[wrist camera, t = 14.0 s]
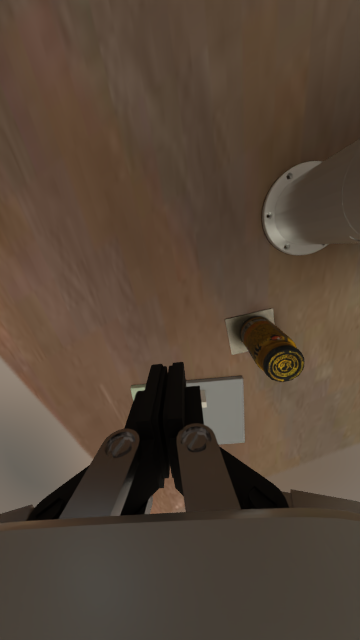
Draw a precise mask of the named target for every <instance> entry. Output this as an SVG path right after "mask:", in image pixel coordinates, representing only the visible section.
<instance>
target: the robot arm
mask: <svg viewBox="0 0 360 640" xmlns="http://www.w3.org/2000/svg"><path fill="white" fill-rule="evenodd" d="M286 176H287V177H288V179H287V177H286ZM266 215H269V217H268V218H267V217H266ZM262 224H263V229H264V232H265V235H266V237H267V238H268V240H269V242H270V243H271V244H272V245H273V246H274V247H275V248H276V249H278V250H279V251H281V252H284V253H286V254H291V255H308V254H311V253H314V252H317V251H319V250H321V249H323V248H324V247H326V246H327V245H328V244H346V243H360V139H358V140H357V141H355V142H354V143H352V144H350V145H349V146H347V147H346V148H344V149H342V150H341V151H339V152H338V153H336V154H334V155H333V156H331V157H330V158H328V159H326V160H325V161H308V162H304V163H301V164H298V165H296V166H294V167H292V168H291V169H289V170H288V171H286V172H285V173H284V174H283V175H282V176H280V177H279V178H278V179H277V181H276V182H275V183H274V184H273V185H272V187H271V189H270V190H269V192H268V194H267V196H266V199H265V201H264V205H263V210H262ZM284 246H286V248H285V249H284ZM170 468H171V473H172V478H174V483H175V488H176V489H177V490H178V491H179V492H180V493H181V494H182V495H183V496H184V502H185V509H186V512H180V513H160V514H150V511H151V507H152V501H153V497H152V495H153V494H154V493H155V492H156V491H157V490H158V489H159V488H164V479H165V478H169V471H170ZM0 640H360V502H357V501H353V500H347V499H342V498H336V497H331V496H325V495H319V494H314V493H308V492H303V491H297V490H291V492H290V493H288V492H282V491H280V490H279V489H278V488H277V487H276V486H275V485H274V484H273V483H271V482H270V481H268V480H267V479H265V478H264V477H263V476H261V475H260V474H258V473H257V472H255V471H254V470H253V469H251V468H250V467H248V466H247V465H245V464H244V463H242V462H241V461H240V460H238V459H237V458H235V457H234V456H232V455H231V454H230V453H228V452H227V451H225V450H224V449H222V448H221V447H219V445H218V442H217V439H216V436H215V434H214V432H213V430H212V429H211V428H209V427H208V426H206V425H204V420H203V411H202V402H201V393H200V386H190V387H186V379H185V371H184V364H183V362H177V363H173V366H169V371H168V372H167V367H166V366H164V367H163V365H162V364H156V365H152V366H151V369H150V373H149V376H148V380H147V383H146V387H145V390H143V391H137V393H136V395H135V398H134V401H133V404H132V407H131V410H130V413H129V416H128V419H127V422H126V425H125V428H124V429H121V430H118V431H116V432H114V433H112V434H111V435H109V436H108V437H107V438H106V439H105V441H104V442H103V443H102V445H101V447H100V449H99V450H98V452H97V454H96V455H95V457H94V459H93V461H92V462H91V464H90V465H89V466H88V467H87V468H85V469H84V470H82V471H81V472H80V473H78V474H77V475H75V476H74V477H73V478H71V479H70V480H69V481H67V482H66V483H65V484H63V485H62V486H61V487H59V488H58V489H57V490H55V491H54V492H52V493H51V494H50V495H48V496H47V497H46V498H45V499H43V500H42V501H41V502H40V503H39V504H38V505H37V506H36V507H35V508H34V507H33V505H28V506H25V507H22V508H18V509H15V510H12V511H9V512H5V513H2V514H0Z"/></svg>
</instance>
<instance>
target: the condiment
mask: <svg viewBox="0 0 360 640" xmlns="http://www.w3.org/2000/svg"><path fill="white" fill-rule="evenodd" d="M225 321H226V327H227V332H228V337H229V342H230V348H231V352H232V355H233V354H238V353H243V352H248V351H249V353H250V354H251V356H252V358H253V359H254V361H255V362H256V364H257V365H258V367H259V368H261V369H262V370H263V371H264V372H265V373H266V375H267V376H268V377H270V378H271V379H272V380H275V381H279V382H285V381H290V380H293V379H294V378H296V377H297V376H299V375H300V373H301V372H302V370H303V368H304V357H303V355H302V353H301V352H300V351H299V350H298V349H297V347H296V345H295V343H294V342H293V341H292V340H291V339H290V338H289V337H288V336H287V335H286V334H284V333H283V332H282V331H281V330H280V329H279V328H278V327H277V326H275V323H274V313H273V309H269V310H264V311H260V312H255V313H251V314H247V315H243V316H238V317H234V318H230V319H225ZM240 341H241V342H240ZM242 342H243V343H242Z"/></svg>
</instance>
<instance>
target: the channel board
mask: <svg viewBox="0 0 360 640" xmlns="http://www.w3.org/2000/svg"><path fill="white" fill-rule="evenodd" d="M190 386H200V393H201V402H202V411H203V420H204V425H206V426H208V427H209V428H211V429H212V430H213V432H214V434H215V436H216V439H217V442H218V444H230V443H245V432H244V396H243V378H242V376H233V377H222V378H211V379H199V380H188V381H186V387H190ZM145 387H146V384H142V385H132V386H131V393H132V397H133V401H134V398H135V395H136V393H137V391H143V390H145Z"/></svg>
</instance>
